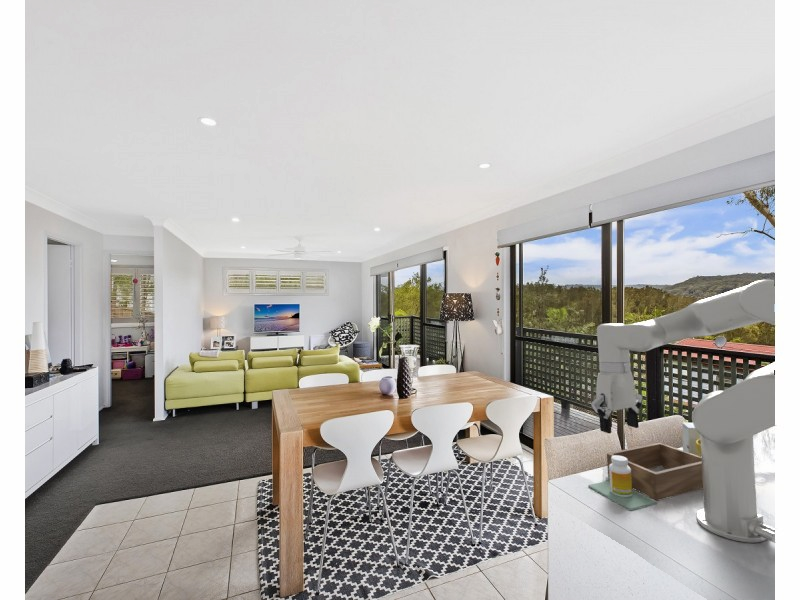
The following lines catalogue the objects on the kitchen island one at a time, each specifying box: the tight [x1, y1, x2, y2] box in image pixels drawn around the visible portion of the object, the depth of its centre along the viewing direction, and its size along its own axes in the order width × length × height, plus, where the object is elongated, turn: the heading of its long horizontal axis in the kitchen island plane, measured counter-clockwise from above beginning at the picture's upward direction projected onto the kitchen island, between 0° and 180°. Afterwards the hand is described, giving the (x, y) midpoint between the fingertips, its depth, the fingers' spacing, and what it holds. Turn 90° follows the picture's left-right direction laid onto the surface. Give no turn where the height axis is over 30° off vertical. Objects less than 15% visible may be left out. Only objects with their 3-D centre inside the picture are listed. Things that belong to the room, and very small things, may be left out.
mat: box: [587, 479, 658, 511], centre depth 107 cm, size 14×9×1 cm, turn 18°
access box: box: [606, 442, 703, 502], centre depth 114 cm, size 16×22×7 cm
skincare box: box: [682, 421, 701, 456], centre depth 126 cm, size 6×4×12 cm
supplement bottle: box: [609, 455, 633, 497], centre depth 107 cm, size 5×5×10 cm
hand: (619, 429), depth 107 cm, fingers open, 9 cm apart
